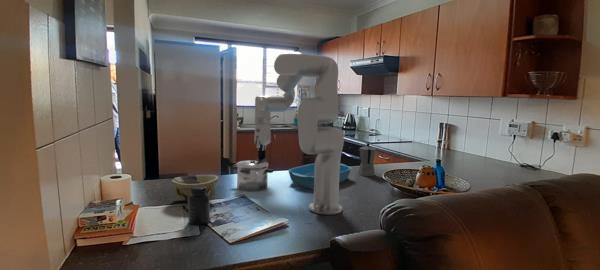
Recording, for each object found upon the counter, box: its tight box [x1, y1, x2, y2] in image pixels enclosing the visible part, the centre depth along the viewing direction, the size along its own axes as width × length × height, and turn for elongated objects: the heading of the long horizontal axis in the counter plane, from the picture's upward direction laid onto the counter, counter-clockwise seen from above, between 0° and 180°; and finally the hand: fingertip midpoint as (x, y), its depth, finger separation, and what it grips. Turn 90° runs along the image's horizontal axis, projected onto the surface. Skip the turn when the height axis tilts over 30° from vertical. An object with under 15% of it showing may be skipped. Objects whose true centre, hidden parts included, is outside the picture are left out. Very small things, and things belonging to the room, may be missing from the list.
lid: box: [236, 157, 269, 169], centre depth 154 cm, size 20×15×2 cm
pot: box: [232, 165, 274, 192], centre depth 151 cm, size 15×20×10 cm
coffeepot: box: [357, 142, 377, 177], centre depth 182 cm, size 15×9×18 cm, turn 175°
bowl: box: [171, 174, 219, 203], centre depth 130 cm, size 18×18×10 cm
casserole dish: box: [288, 162, 352, 190], centre depth 166 cm, size 37×22×7 cm, turn 140°
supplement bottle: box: [187, 185, 211, 226], centre depth 109 cm, size 7×7×12 cm
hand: (261, 158), depth 161 cm, fingers closed
